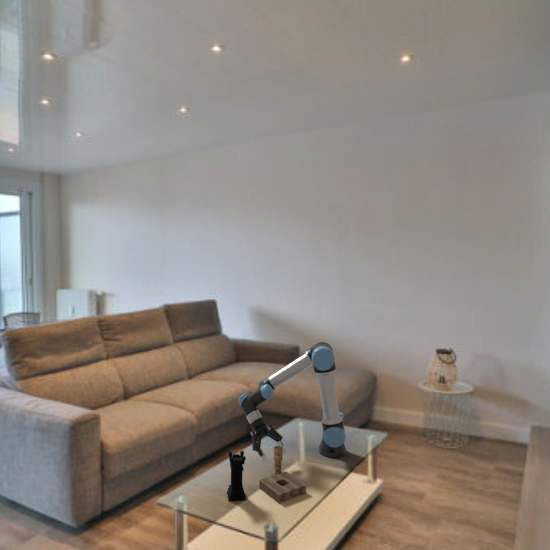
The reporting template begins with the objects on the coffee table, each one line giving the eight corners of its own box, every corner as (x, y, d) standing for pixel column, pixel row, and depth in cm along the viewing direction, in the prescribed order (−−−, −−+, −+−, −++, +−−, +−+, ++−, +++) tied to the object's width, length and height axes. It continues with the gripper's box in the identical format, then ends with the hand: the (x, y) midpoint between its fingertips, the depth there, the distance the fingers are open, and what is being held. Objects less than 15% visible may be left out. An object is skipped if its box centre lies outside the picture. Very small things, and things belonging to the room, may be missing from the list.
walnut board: (285, 479, 240) (285, 471, 240) (306, 493, 227) (306, 484, 227) (259, 488, 230) (259, 480, 230) (279, 503, 218) (279, 494, 217)
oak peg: (278, 469, 250) (279, 445, 249) (283, 472, 246) (284, 448, 246) (271, 471, 247) (272, 447, 246) (276, 475, 244) (277, 450, 243)
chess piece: (228, 501, 218) (229, 459, 217) (226, 492, 226) (227, 451, 225) (245, 500, 220) (246, 458, 218) (243, 491, 228) (244, 450, 226)
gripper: (268, 418, 267) (288, 453, 258) (235, 430, 249) (254, 468, 240) (276, 411, 263) (295, 446, 254) (242, 423, 245) (261, 461, 236)
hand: (275, 457), depth 247 cm, fingers open, 13 cm apart
